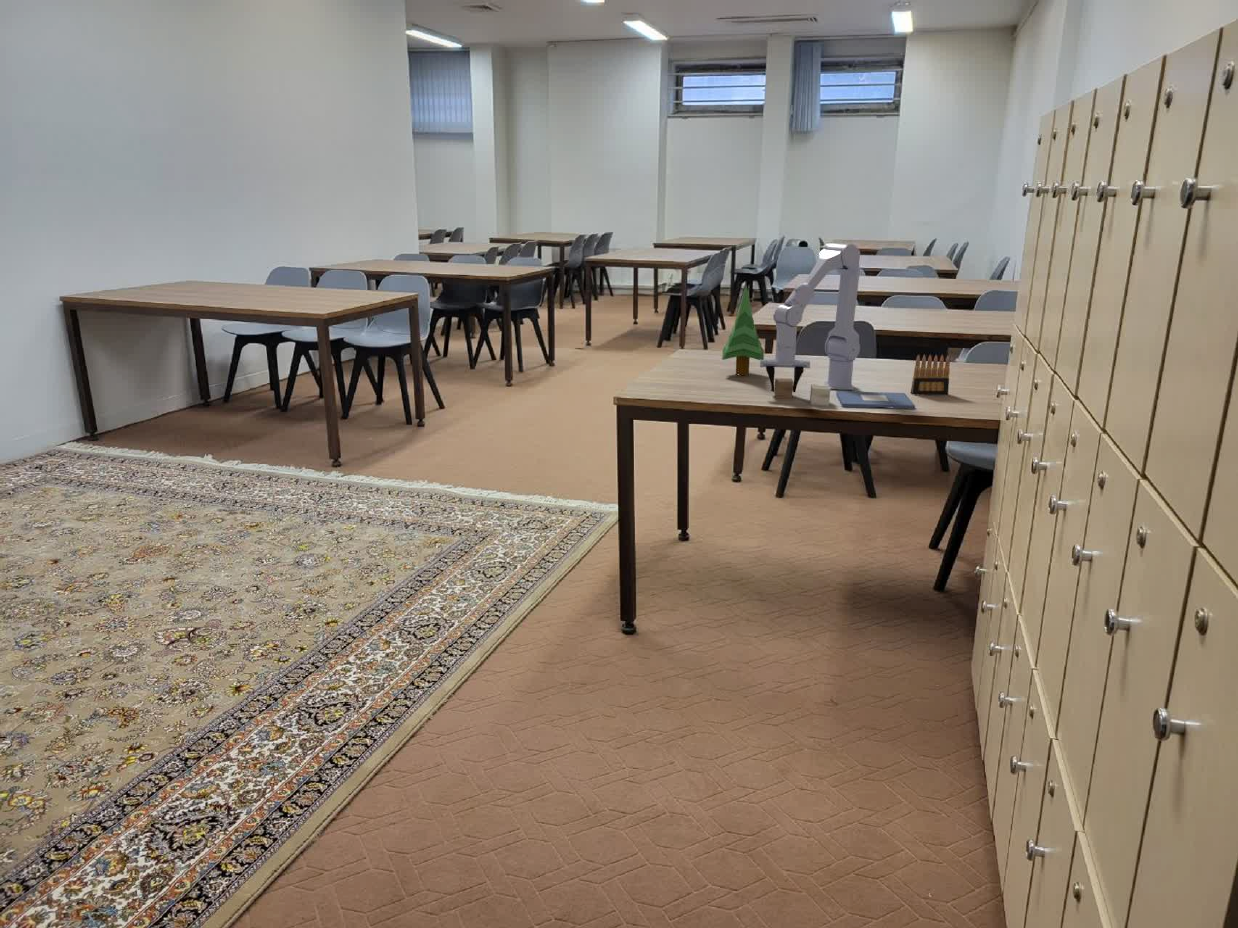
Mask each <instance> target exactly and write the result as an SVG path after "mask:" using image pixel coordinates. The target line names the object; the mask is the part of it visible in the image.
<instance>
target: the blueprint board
mask: <svg viewBox="0 0 1238 928" xmlns="http://www.w3.org/2000/svg"><path fill="white" fill-rule="evenodd" d="M835 394H836V397H837V399H838V401H839V403H840V406H841V407H842V408H860V407H893V408H892V409H895V408H910V409H909V410H915V409H916V405H915V403H914V402H913V401H912V400H911V399H910V398H909V397H908V394H906V393H905V392H887V391H886V392H884V391H882V392H881V391H879V392H878V391H851V390H848V391H847V390H846V391H845V390H841V391H840V390H836V392H835Z"/></svg>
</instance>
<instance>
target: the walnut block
mask: <svg viewBox="0 0 1238 928" xmlns="http://www.w3.org/2000/svg"><path fill="white" fill-rule="evenodd" d="M793 382H794V379H793V378H788V377H787V378H786V377H774V392H773V393H774V394H775V395H774V394H773V395H774V398H775V397H783V398H782V399H793Z"/></svg>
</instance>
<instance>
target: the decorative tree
mask: <svg viewBox="0 0 1238 928" xmlns="http://www.w3.org/2000/svg"><path fill="white" fill-rule="evenodd" d="M739 302H740V303H739V307H738V311H737V315H736V318H735V320H734V325H733V327H732V329H731V333H730V334H729V335H728V340H727V341H726V342H725V346H724V347H723V348H722V355H721V356H722V357H721V360H722V361H723V360H728V359H733V358H735V360H736V361H735V375H736V374H739V375H750V359H754V360H758V361H760V360H765V356H764V355H765V349H764V348H763V347H762V342H761V341H760V336H759V335H758V333H757V329H756V326H755V321H754V318H753V317H754V316H753V315H752V311H753V310H752V306H751V301H750V295H749V291H748V287H747V284H745V285H744V290H743V292H742V296H741V299H740V301H739Z"/></svg>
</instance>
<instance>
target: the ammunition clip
mask: <svg viewBox="0 0 1238 928" xmlns="http://www.w3.org/2000/svg"><path fill="white" fill-rule="evenodd" d="M939 358H940V359H939ZM939 358H938V355H937V354H935V356H934V359H933V358H932V354H929V356H928V359H927V357H926V354H923V357H922V360H921V357H920V354H918V355H917V357H916V360H915V365H914V370H913V377H912V383H911V389H910V394H911V395H913V394H919V396H929V395H930V396H933V395H935V396H948V395H949V387H950V386H949V383H950V378H949V377H950V369H951V368H950V365H951V364H950V360H951V358H950V355H949V354H947V356H946V358H944V354H941V356H940V357H939ZM932 359H933V360H932ZM938 359H939V360H938ZM944 360H945V361H944ZM944 362H945V363H944ZM938 363H939V364H938ZM921 394H922V395H921ZM923 394H924V395H923Z"/></svg>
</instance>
